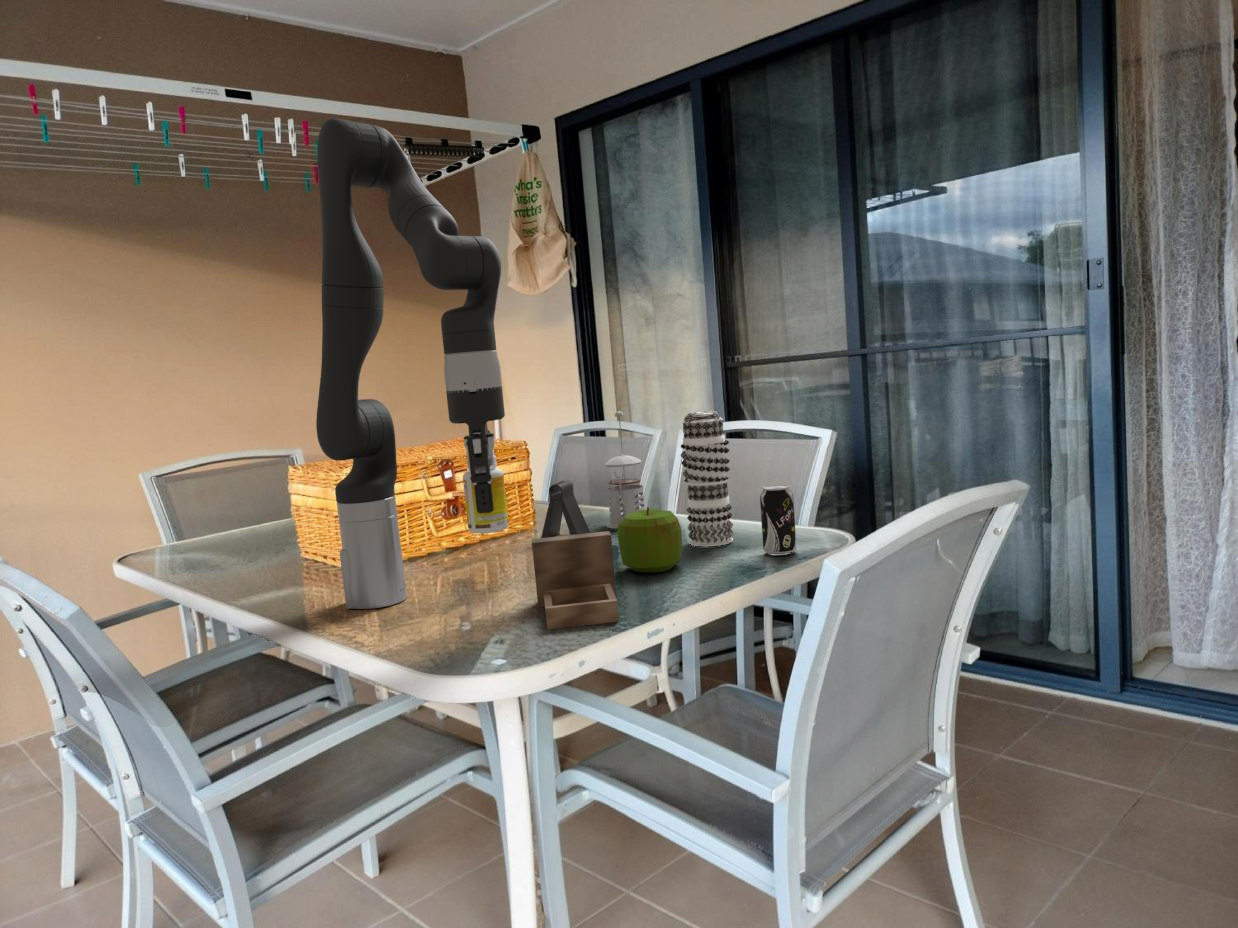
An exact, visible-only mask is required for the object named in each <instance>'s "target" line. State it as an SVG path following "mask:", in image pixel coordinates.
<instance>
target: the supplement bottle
mask: <svg viewBox="0 0 1238 928" xmlns="http://www.w3.org/2000/svg"><path fill="white" fill-rule="evenodd" d="M488 459H489V457H488ZM493 460H494V467H493V468H492V469H491V478H492V484H491V488H492V497H493V507H494V509H493V511H492V512H491V513H482V514H480V513H478V512H477V507H476V497H475V488H474V486H473V483H472V480H471V479H470V477H471V471H470V469H469V467H468V463H467V462H466V464H467V467H466V468H467V470H468V471H466V472H464V473H463V475H462V484H463V491H464V492H463V494H464V501H465V502H464V503H465V509H466V511H465V512H466V519H467V520H466V521H467V528H468V531H469V532H471V533H474V534H490V533H496V532H499V531H504V530H505V529H507V528H508V527H509V515H508V504H507V495H506V487H505V485H506V484H505V476H504V471H503V469H501V468H497V466H498V462H497V456H496V454H495V455H493ZM476 473H486V469H478V470H476ZM489 485H490V484H489Z"/></svg>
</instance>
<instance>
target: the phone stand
mask: <svg viewBox="0 0 1238 928" xmlns="http://www.w3.org/2000/svg"><path fill="white" fill-rule="evenodd" d="M548 494H549V503H548V507H547V511H546V514H545V515H546V516H545V520H544V523H543V527H542V533H541V536H540V538H548V537H558V536H567V535H568V534H561V533H560V531H561V525H562V520H563V517H564V519H565V522H566V526H567V528H568V531H569V535H577V534H586V533H591V531H590V529H589V527H588V525H587V522H586V520H585V518H584V514H583V513H582V511H581V510H582V509H581V508H580V506H579V504H578V501H577V499H576V496H575V494H574V485H573V482H572V481H570V480H561V481H559V482H557V483H555V484H554V483H553V484H552V485H551V486H550V487H549V488H548Z"/></svg>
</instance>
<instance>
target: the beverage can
mask: <svg viewBox="0 0 1238 928" xmlns="http://www.w3.org/2000/svg"><path fill="white" fill-rule="evenodd" d="M762 489H763V490H762V491H761V494H760V495H759V501H760V503H759V504H760V517H761V518H760V519H761V531H762V532H761V535H762V549H763V551H764V553H766V554H768V553H769V554H785V553H791V552H792V553H793V552H795V551H796V550H797V537H796V536H797V535H796V534H797V533H796V517H795V500H794V494H793V492H792V491H791V490H790V485H788V484H771V485H766V486H763V487H762ZM769 554H768V555H769Z"/></svg>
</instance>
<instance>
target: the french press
mask: <svg viewBox="0 0 1238 928" xmlns="http://www.w3.org/2000/svg"><path fill="white" fill-rule="evenodd" d="M614 417H616V418H617V417H618V421H619V423H618V424H619V435H620V446H621V454H620V455H617V456H615V457H612V458H610V459H609V460H608V461H607V462H605V463H604V466H605V467H606V468H623V471H621V473H620V474H619V475H620V476H618V475H617V473H616V471H614V472H613V474H612V480H609V481H608V484H609V485H611V487H607V494H608V497H607V498H608V501H609V502H608V506H609V508H608V510H609V511H608V512H609V519H610V520H609V522H608V523H607V524H606V528H609V529H615V530H616V529H617V530H618V523H619V522H620V521H621V520H622V519H623V518H624V517H625V516H626V515H627V514H630V513H632V512H636V511H639V510H646V509H645V498H644V497H645V496H644V486H643V485H642V484H639V483H640V482H641V480H642V479H641V478H637V477H631V478H630V477H626V475H625V474H626V473H625V467H630V466H636V465H640V464H641V463H642V460H641V459H640V458H637V457H635V456H633V455H627V454H624V451H623V450H624V449H623V439H622V438H623V437H622V428H621V427H622V426H621V417H624V412H623V411H621V410H618V411H616V412H615V413H614ZM615 478H616V479H615ZM639 501H640V502H639ZM621 507H622V508H621Z"/></svg>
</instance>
